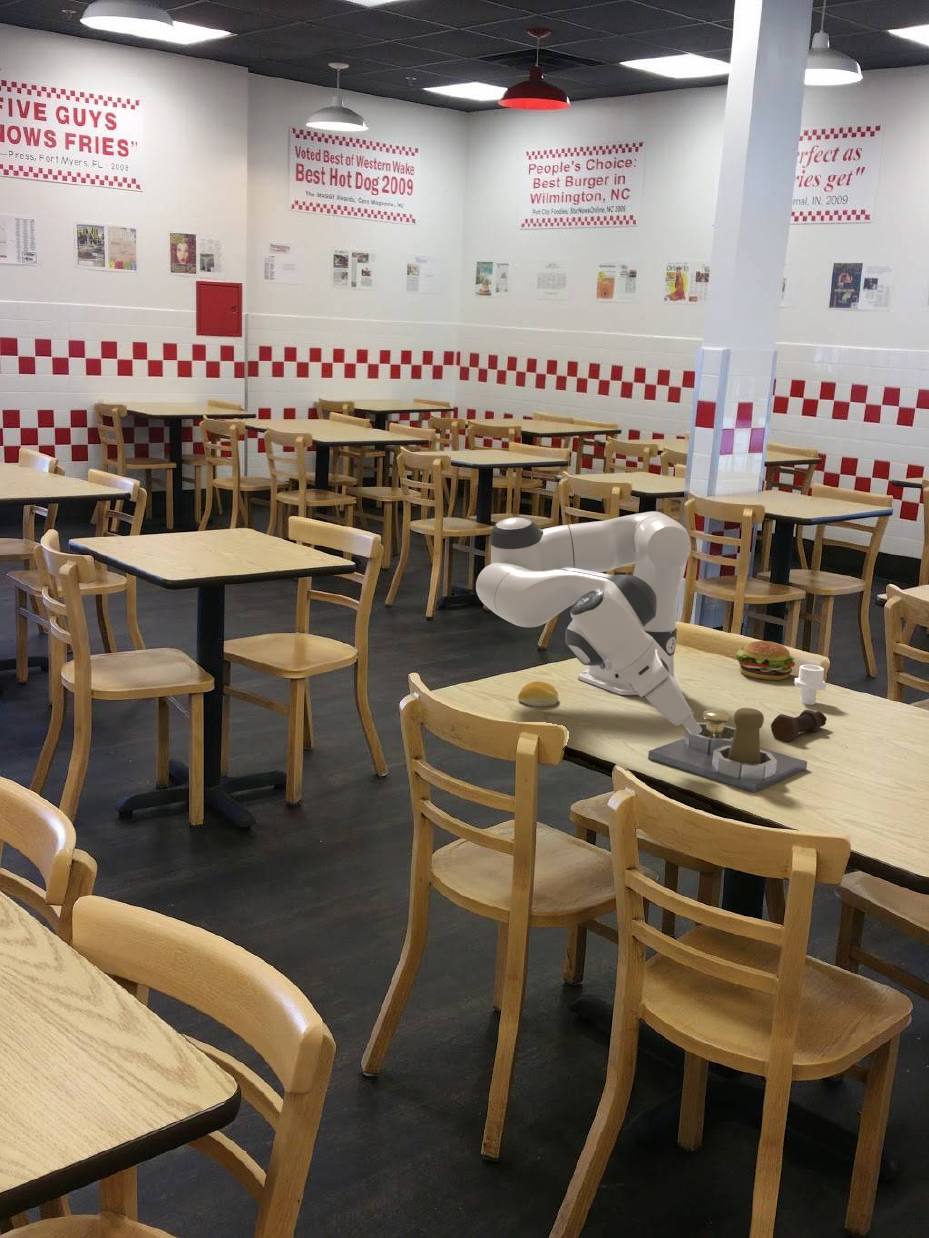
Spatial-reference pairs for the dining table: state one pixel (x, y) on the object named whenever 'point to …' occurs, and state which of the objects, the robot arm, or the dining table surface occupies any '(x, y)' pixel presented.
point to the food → (765, 660)
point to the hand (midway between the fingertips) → (694, 724)
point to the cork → (746, 736)
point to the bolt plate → (724, 757)
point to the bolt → (797, 725)
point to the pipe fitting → (810, 682)
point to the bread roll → (538, 694)
